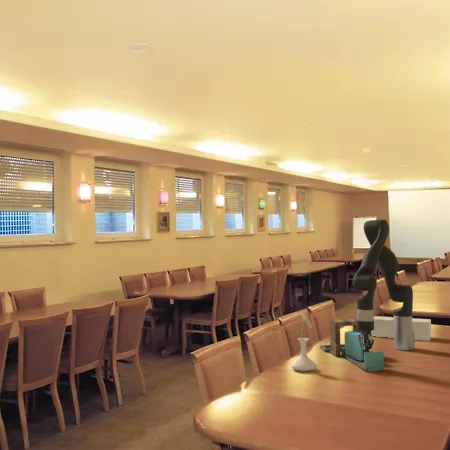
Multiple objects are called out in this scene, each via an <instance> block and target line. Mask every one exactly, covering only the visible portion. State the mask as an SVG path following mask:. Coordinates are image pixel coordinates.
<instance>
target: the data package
mask: <svg viewBox="0 0 450 450" xmlns="http://www.w3.org/2000/svg"><path fill="white" fill-rule="evenodd" d="M358 335H360V333H359V332H355V331H353V330H349V331H345V332H344V344H345V354H346V355H347V356H349V357H351V358H352V359H354V360H355V361H358V362H359V361H364V357H363V348H362V347H361V345H360V341H359V338H358Z"/></svg>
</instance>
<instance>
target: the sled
mask: <svg viewBox="0 0 450 450" xmlns="http://www.w3.org/2000/svg"><path fill="white" fill-rule="evenodd" d="M384 355H385V354H384V351H383V350H373V351H372V350H371V351H370V350H369V352H364V360H363V362H364V363H363V364H364V365H363V364H361V363H360V362H359V361H358V360H356V359H353V358H351V357H349V356H347V355H346V354H345V348H341V357H343V358H345V359H347V360H348V361H349V362H351V363H353V364H355V365H356V366H357V367H359V368H360V369H362V370H364V371H365V372H371V371H372V372H373V371H374V372H375V371H384V370H385V365H384V363H385V362H384V361H385V360H384Z"/></svg>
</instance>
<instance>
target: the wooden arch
mask: <svg viewBox="0 0 450 450" xmlns="http://www.w3.org/2000/svg"><path fill="white" fill-rule="evenodd" d="M348 326H349V327H350V326H351V327H352V331H355V332H359V333H360V331H361V330H358V329H357V318H342V319H341V318H337V319H333V318H332V319H329V345H330V352H329V353H330V355H332V356H333V357H336V358H341V357H342V355H341V346H340V344H341V327H348Z"/></svg>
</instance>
